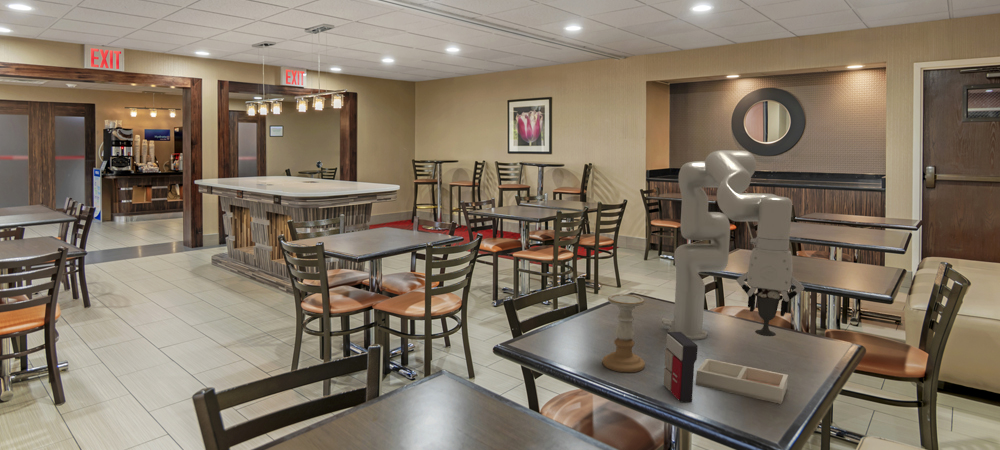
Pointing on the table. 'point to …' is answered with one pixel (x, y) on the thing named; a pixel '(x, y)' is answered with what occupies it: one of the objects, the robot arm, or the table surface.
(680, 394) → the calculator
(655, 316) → the table surface
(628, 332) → the candle holder
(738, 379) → the carrier tray
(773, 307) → the sundae
